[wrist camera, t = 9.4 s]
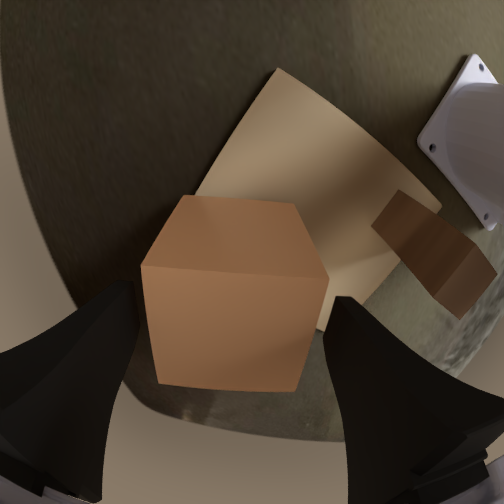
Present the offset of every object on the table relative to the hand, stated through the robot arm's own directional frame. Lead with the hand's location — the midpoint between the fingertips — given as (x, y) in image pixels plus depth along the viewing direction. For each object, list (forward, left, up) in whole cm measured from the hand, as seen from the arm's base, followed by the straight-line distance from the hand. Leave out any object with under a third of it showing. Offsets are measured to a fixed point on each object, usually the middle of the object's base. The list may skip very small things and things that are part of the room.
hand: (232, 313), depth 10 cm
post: (-7, -6, -7) cm, 11 cm away
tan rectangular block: (0, 0, -5) cm, 5 cm away
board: (-3, -3, -7) cm, 8 cm away
